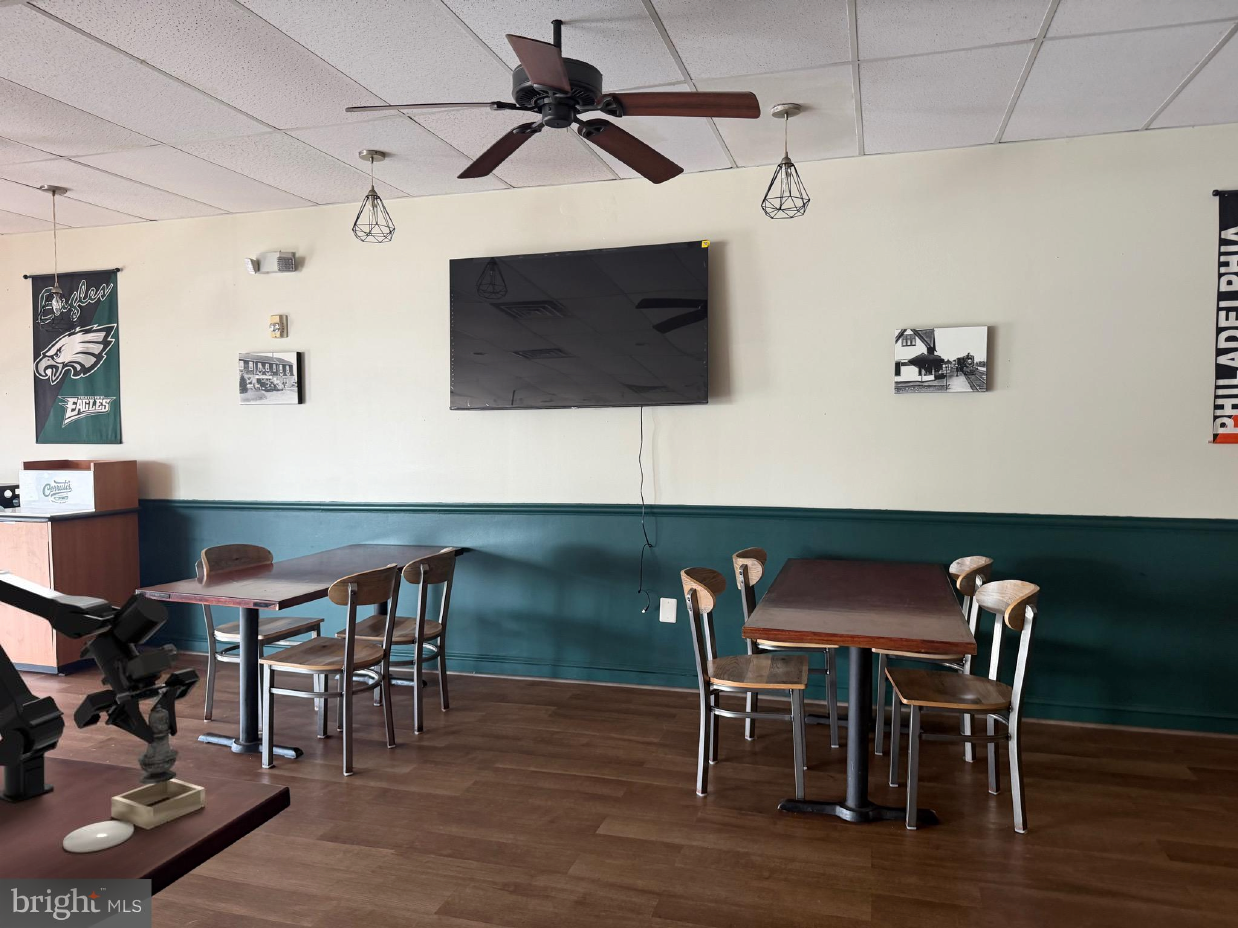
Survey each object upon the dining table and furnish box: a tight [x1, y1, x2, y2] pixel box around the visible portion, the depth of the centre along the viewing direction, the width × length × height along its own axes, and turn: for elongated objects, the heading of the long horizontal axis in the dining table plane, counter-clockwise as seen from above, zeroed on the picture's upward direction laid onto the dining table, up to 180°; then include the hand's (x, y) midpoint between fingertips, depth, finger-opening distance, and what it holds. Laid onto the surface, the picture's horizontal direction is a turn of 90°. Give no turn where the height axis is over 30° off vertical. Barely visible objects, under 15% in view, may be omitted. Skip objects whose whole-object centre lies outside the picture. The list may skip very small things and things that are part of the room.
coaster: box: [62, 820, 135, 853], centre depth 123 cm, size 9×9×1 cm
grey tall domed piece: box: [137, 704, 180, 785], centre depth 133 cm, size 6×6×12 cm
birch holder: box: [110, 778, 206, 830], centre depth 133 cm, size 10×10×3 cm
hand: (164, 738), depth 132 cm, fingers closed on grey tall domed piece, 4 cm apart
